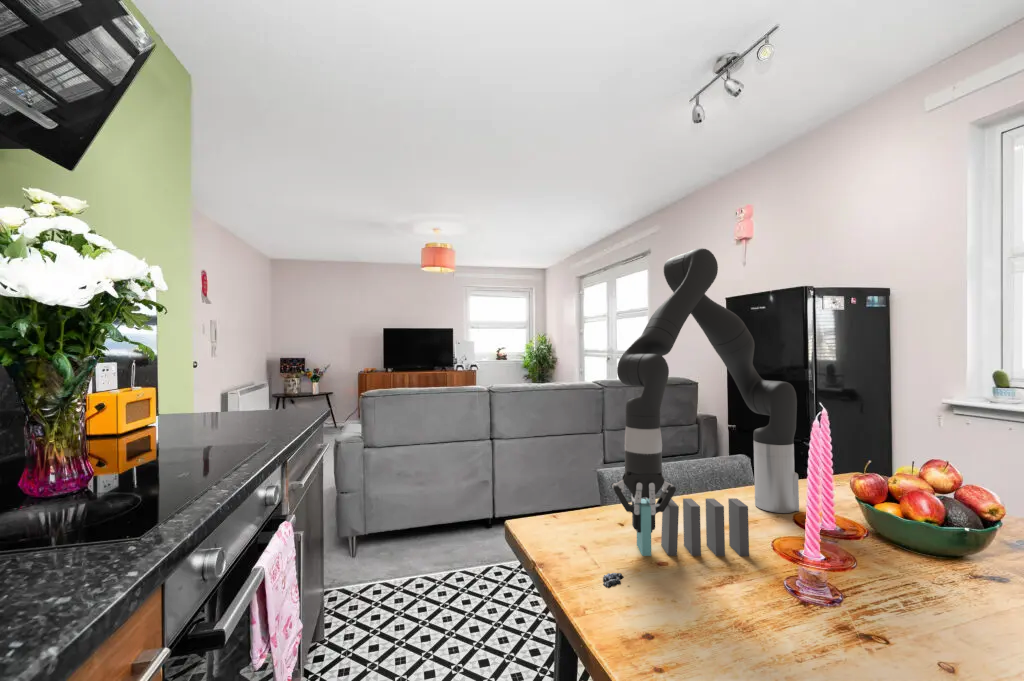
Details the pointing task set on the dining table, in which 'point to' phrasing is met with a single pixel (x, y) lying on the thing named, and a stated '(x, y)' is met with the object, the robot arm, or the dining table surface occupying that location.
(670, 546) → the domino
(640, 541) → the end domino
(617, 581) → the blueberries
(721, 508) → the domino
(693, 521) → the domino
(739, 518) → the domino
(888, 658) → the dining table surface
